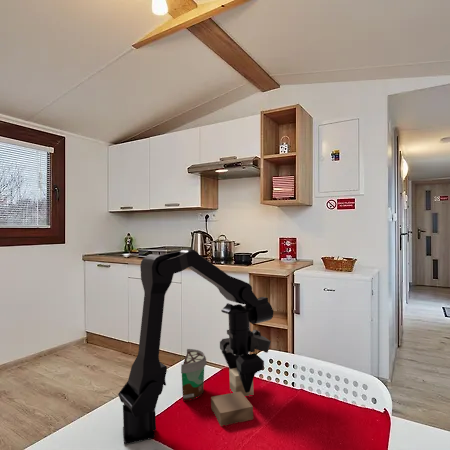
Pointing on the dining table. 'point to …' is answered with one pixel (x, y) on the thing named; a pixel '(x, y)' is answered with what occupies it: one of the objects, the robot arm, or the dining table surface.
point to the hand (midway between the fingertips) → (241, 384)
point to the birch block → (238, 383)
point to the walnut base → (231, 408)
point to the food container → (193, 374)
